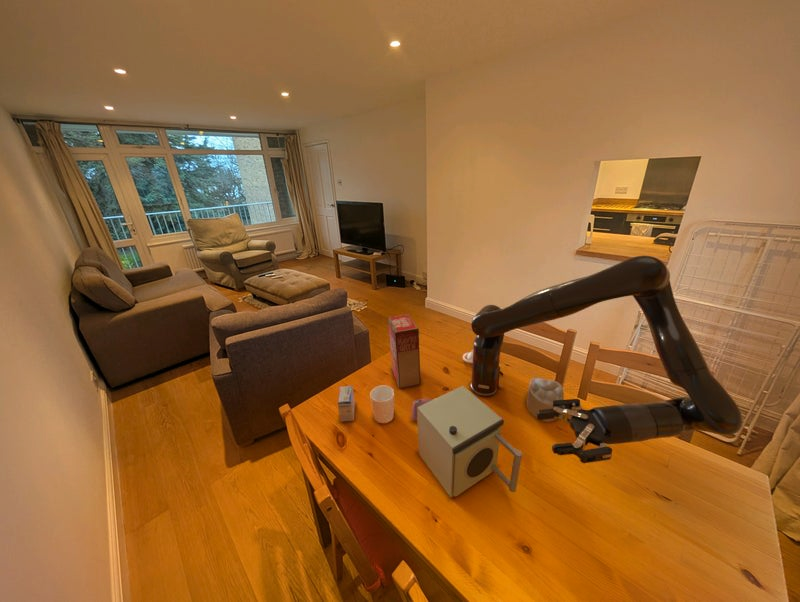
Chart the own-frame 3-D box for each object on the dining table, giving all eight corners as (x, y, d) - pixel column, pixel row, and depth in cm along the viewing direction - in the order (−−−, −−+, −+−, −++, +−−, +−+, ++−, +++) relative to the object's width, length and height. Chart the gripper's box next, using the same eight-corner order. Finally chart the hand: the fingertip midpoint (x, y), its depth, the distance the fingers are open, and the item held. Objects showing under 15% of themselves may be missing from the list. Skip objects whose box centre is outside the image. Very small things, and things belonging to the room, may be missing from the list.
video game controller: (441, 418, 100) (440, 398, 100) (441, 423, 95) (441, 402, 96) (412, 417, 101) (412, 397, 101) (411, 422, 96) (411, 401, 97)
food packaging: (391, 368, 124) (387, 316, 114) (412, 364, 126) (410, 312, 116) (398, 389, 112) (394, 332, 102) (422, 384, 114) (420, 328, 104)
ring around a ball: (465, 367, 122) (484, 366, 122) (466, 356, 120) (485, 354, 120) (460, 357, 129) (478, 355, 130) (460, 346, 127) (478, 344, 128)
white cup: (398, 410, 102) (397, 387, 98) (390, 427, 96) (389, 403, 91) (378, 405, 105) (375, 383, 101) (369, 422, 98) (366, 398, 94)
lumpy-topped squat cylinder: (559, 398, 103) (563, 378, 100) (561, 425, 93) (566, 404, 89) (527, 391, 108) (530, 372, 104) (525, 416, 97) (529, 396, 93)
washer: (460, 430, 93) (463, 382, 85) (497, 468, 81) (504, 417, 73) (418, 453, 86) (416, 404, 78) (452, 499, 74) (454, 446, 66)
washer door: (493, 467, 80) (498, 428, 74) (518, 493, 73) (525, 452, 67) (453, 494, 74) (454, 454, 68) (476, 525, 67) (480, 483, 61)
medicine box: (343, 405, 106) (339, 386, 102) (355, 404, 106) (352, 385, 102) (340, 422, 99) (337, 402, 95) (354, 421, 99) (351, 401, 95)
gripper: (642, 465, 59) (557, 473, 61) (601, 409, 71) (532, 416, 73) (649, 441, 55) (559, 450, 57) (605, 386, 68) (532, 395, 70)
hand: (544, 431), depth 65 cm, fingers open, 8 cm apart
